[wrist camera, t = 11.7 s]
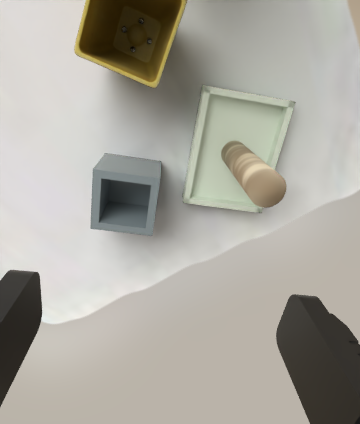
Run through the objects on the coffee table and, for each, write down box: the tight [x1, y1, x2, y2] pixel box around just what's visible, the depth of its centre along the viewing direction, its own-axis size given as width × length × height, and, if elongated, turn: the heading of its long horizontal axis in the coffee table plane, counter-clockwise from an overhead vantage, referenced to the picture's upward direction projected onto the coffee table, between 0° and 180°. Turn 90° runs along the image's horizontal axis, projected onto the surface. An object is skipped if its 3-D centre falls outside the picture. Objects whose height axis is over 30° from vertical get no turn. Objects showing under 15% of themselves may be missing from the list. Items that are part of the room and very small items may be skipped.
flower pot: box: [74, 0, 187, 88], centre depth 32 cm, size 9×9×9 cm
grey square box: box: [91, 153, 161, 236], centre depth 40 cm, size 8×8×8 cm
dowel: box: [221, 141, 286, 208], centre depth 35 cm, size 4×4×15 cm
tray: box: [182, 85, 295, 213], centre depth 41 cm, size 16×12×2 cm
